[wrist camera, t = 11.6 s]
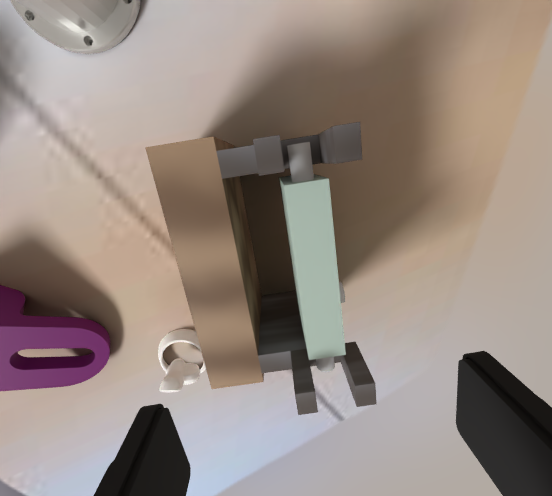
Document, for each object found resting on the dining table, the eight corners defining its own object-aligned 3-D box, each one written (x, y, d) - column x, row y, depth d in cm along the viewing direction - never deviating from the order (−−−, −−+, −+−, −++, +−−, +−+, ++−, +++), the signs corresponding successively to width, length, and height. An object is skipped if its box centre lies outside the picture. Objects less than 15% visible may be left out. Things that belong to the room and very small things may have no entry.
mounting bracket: (117, 293, 43) (-52, 280, 34) (116, 328, 36) (-96, 324, 27) (105, 342, 46) (-55, 343, 36) (102, 384, 39) (-97, 398, 29)
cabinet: (190, 152, 32) (107, 143, 16) (312, 132, 31) (358, 101, 15) (229, 320, 38) (199, 438, 22) (330, 305, 38) (376, 414, 22)
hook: (213, 322, 32) (215, 388, 30) (212, 327, 44) (213, 376, 42) (142, 329, 31) (140, 400, 29) (160, 332, 42) (159, 383, 40)
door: (275, 151, 27) (278, 145, 18) (317, 144, 27) (343, 135, 18) (300, 320, 33) (312, 384, 23) (335, 314, 33) (362, 377, 23)
